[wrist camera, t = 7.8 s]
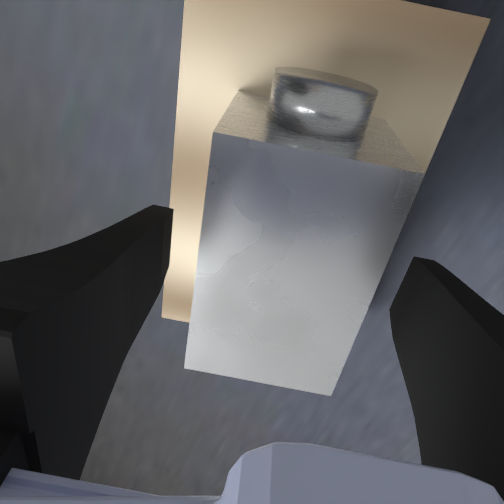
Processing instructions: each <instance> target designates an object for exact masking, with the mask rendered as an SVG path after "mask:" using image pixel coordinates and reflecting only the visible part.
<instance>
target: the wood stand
mask: <svg viewBox="0 0 504 504" xmlns="http://www.w3.org/2000/svg"><path fill="white" fill-rule="evenodd" d="M490 20H491V19H489V18H484V17H479V16H475V15H470V14H465V13H460V12H455V11H451V10H446V9H441V8H436V7H431V6H426V5H422V4H417V3H412V2H407V1H402V0H185V1H184V15H183V29H182V43H181V57H180V71H179V84H178V98H177V112H176V126H175V140H174V154H173V168H172V181H171V195H170V208H172V209H174V212H173V225H172V237H171V250H170V263H169V268H168V271H167V274H166V277H165V279H164V292H163V306H162V317H163V318H168V319H174V320H179V321H184V322H189V323H190V316H191V308H192V300H193V291H194V283H195V275H196V267H197V258H198V250H199V242H200V234H201V225H202V217H203V209H204V201H205V192H206V184H207V176H208V168H209V159H210V151H211V143H212V135H213V131H214V129H215V127H216V126H217V124H218V122H219V121H220V119H221V118H222V116H223V114H224V113H225V111H226V109H227V108H228V106H229V104H230V103H231V101H232V100H233V98H234V96H235V95H236V93H237V91H238V90H241V91H246V92H251V93H256V94H261V95H266V96H270V93H271V87H272V82H273V77H274V71H275V68H278V67H297V68H305V69H312V70H318V71H323V72H327V73H332V74H336V75H340V76H344V77H348V78H351V79H354V80H357V81H360V82H363V83H366V84H368V85H370V86H372V87H374V88H376V89H377V90H378V95H377V98H376V101H375V104H374V107H373V110H372V113H371V116H370V117H375V118H380V119H385V120H386V121H387V123H388V124H389V125H390V127H391V128H392V130H393V131H394V132H395V134H396V135H397V136H398V138H399V139H400V140H401V142H402V143H403V145H404V146H405V147H406V149H407V150H408V151H409V153H410V154H411V155H412V157H413V158H414V160H415V161H416V162H417V164H418V165H419V166H420V168H421V169H422V170H423V172H424V173H426V170H427V168H428V166H429V163H430V161H431V159H432V156H433V154H434V152H435V149H436V147H437V145H438V142H439V140H440V137H441V135H442V133H443V130H444V128H445V126H446V123H447V121H448V119H449V116H450V114H451V112H452V109H453V107H454V105H455V102H456V100H457V97H458V95H459V93H460V90H461V88H462V86H463V83H464V81H465V79H466V76H467V74H468V72H469V69H470V67H471V65H472V62H473V60H474V57H475V55H476V53H477V50H478V48H479V46H480V43H481V41H482V39H483V36H484V34H485V32H486V29H487V27H488V25H489V22H490Z"/></svg>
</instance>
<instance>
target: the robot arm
mask: <svg viewBox="0 0 504 504" xmlns="http://www.w3.org/2000/svg"><path fill="white" fill-rule="evenodd" d="M173 212H174V209H172V208H167V207H162V206H157V205H152V206H149V207H147V208H145V209H143V210H141V211H139V212H137V213H136V214H134V215H132V216H130V217H128V218H126V219H124V220H122V221H120V222H118V223H116V224H114V225H112V226H110V227H108V228H106V229H103V230H101V231H99V232H96V233H94V234H92V235H90V236H87V237H85V238H83V239H80V240H78V241H75V242H72V243H70V244H67V245H64V246H61V247H57V248H54V249H51V250H48V251H45V252H41V253H37V254H33V255H28V256H24V257H20V258H16V259H12V260H8V261H3V262H0V504H504V315H503V314H502V313H500V312H499V311H498V310H496V309H495V308H494V307H493V306H491V305H490V304H489V303H488V302H486V301H485V300H484V299H483V298H481V297H480V296H479V295H478V294H477V293H475V292H474V291H473V290H472V289H471V288H469V287H468V286H467V285H466V284H465V283H463V282H462V281H461V280H460V279H459V278H457V277H456V276H455V275H454V274H452V273H451V272H450V271H449V270H447V269H446V268H445V267H443V266H442V265H440V264H439V263H437V262H436V261H434V260H429V259H424V258H419V257H413V259H412V262H411V264H410V266H409V268H408V270H407V272H406V275H405V277H404V279H403V281H402V283H401V285H400V288H399V290H398V292H397V294H396V296H395V298H394V301H393V303H392V305H391V307H390V319H391V328H392V335H393V340H394V344H395V348H396V352H397V355H398V359H399V362H400V366H401V369H402V373H403V376H404V380H405V383H406V387H407V390H408V394H409V397H410V401H411V405H412V409H413V413H414V417H415V423H416V429H417V435H418V441H419V447H420V454H421V461H422V465H421V464H415V463H410V462H405V461H400V460H394V459H389V458H384V457H379V456H373V455H368V454H363V453H358V452H352V451H347V450H342V449H337V448H332V447H326V446H321V445H316V444H311V443H292V442H274V443H271V444H268V445H265V446H262V447H259V448H256V449H253V450H250V451H248V452H246V453H244V454H243V455H242V456H241V457H240V458H239V460H238V461H237V462H236V463H235V465H234V466H233V467H232V468H231V469H230V471H229V473H228V477H227V481H226V485H225V489H224V492H223V494H222V495H221V496H159V495H154V494H149V493H144V492H138V491H133V490H128V489H122V488H117V487H112V486H106V485H101V484H96V483H90V482H85V481H80V477H81V474H82V471H83V468H84V465H85V462H86V459H87V457H88V454H89V451H90V448H91V445H92V443H93V440H94V437H95V434H96V432H97V429H98V426H99V423H100V421H101V418H102V415H103V413H104V410H105V407H106V405H107V402H108V400H109V397H110V394H111V392H112V389H113V387H114V384H115V382H116V379H117V377H118V374H119V372H120V369H121V367H122V364H123V362H124V360H125V357H126V355H127V353H128V351H129V349H130V347H131V345H132V343H133V342H134V340H135V338H136V336H137V334H138V332H139V330H140V329H141V327H142V325H143V323H144V321H145V319H146V317H147V316H148V314H149V312H150V310H151V308H152V306H153V304H154V302H155V300H156V299H157V297H158V295H159V293H160V290H161V288H162V285H163V282H164V279H165V277H166V274H167V271H168V268H169V263H170V250H171V237H172V225H173Z"/></svg>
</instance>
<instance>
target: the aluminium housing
mask: <svg viewBox="0 0 504 504" xmlns="http://www.w3.org/2000/svg"><path fill="white" fill-rule="evenodd" d="M377 95H378V90H377V89H376V88H374V87H372V86H370V85H368V84H366V83H363V82H360V81H357V80H354V79H351V78H348V77H344V76H340V75H336V74H332V73H327V72H323V71H318V70H312V69H305V68H297V67H278V68H275V71H274V77H273V82H272V87H271V93H270V96H266V95H261V94H256V93H251V92H246V91H241V90H238V91H237V93H236V95H235V96H234V98H233V100H232V101H231V103H230V104H229V106H228V108H227V109H226V111H225V113H224V114H223V116H222V118H221V119H220V121H219V122H218V124H217V126H216V127H215V129H214V131H213V135H212V143H211V151H210V159H209V168H208V176H207V184H206V192H205V201H204V209H203V217H202V225H201V234H200V242H199V250H198V258H197V267H196V275H195V283H194V291H193V300H192V308H191V316H190V324H189V333H188V341H187V349H186V357H185V366H184V368H186V369H192V370H197V371H202V372H207V373H213V374H218V375H223V376H228V377H234V378H239V379H244V380H249V381H255V382H260V383H265V384H270V385H276V386H281V387H286V388H291V389H297V390H302V391H307V392H313V393H318V394H323V395H328V396H331V395H332V392H333V390H334V388H335V385H336V383H337V381H338V378H339V376H340V373H341V371H342V369H343V366H344V364H345V362H346V359H347V357H348V355H349V352H350V350H351V348H352V345H353V343H354V340H355V338H356V336H357V333H358V331H359V329H360V326H361V324H362V322H363V319H364V317H365V315H366V312H367V310H368V308H369V305H370V303H371V300H372V298H373V296H374V293H375V291H376V289H377V286H378V284H379V282H380V279H381V277H382V275H383V272H384V270H385V268H386V265H387V263H388V260H389V258H390V256H391V253H392V251H393V249H394V246H395V244H396V242H397V239H398V237H399V235H400V232H401V230H402V227H403V225H404V223H405V220H406V218H407V216H408V213H409V211H410V209H411V206H412V204H413V202H414V199H415V197H416V195H417V192H418V190H419V187H420V185H421V183H422V180H423V178H424V176H425V173H424V172H423V170H422V169H421V168H420V166H419V165H418V164H417V162H416V161H415V160H414V158H413V157H412V155H411V154H410V153H409V151H408V150H407V149H406V147H405V146H404V145H403V143H402V142H401V140H400V139H399V138H398V136H397V135H396V134H395V132H394V131H393V130H392V128H391V127H390V125H389V124H388V123H387V121H386V120H385V119H380V118H375V117H370V116H371V113H372V110H373V107H374V104H375V101H376V98H377Z"/></svg>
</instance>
